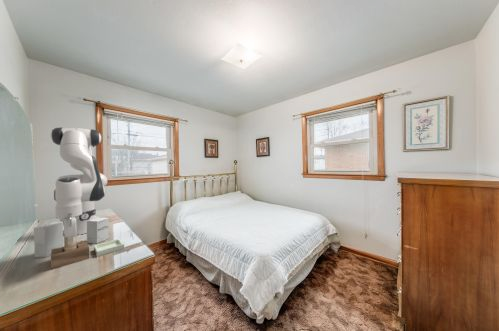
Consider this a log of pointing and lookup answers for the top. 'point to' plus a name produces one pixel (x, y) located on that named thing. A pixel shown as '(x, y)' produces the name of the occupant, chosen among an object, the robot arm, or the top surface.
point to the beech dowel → (69, 246)
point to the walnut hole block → (69, 255)
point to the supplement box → (97, 230)
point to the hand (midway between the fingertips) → (70, 241)
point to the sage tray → (108, 247)
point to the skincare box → (48, 238)
